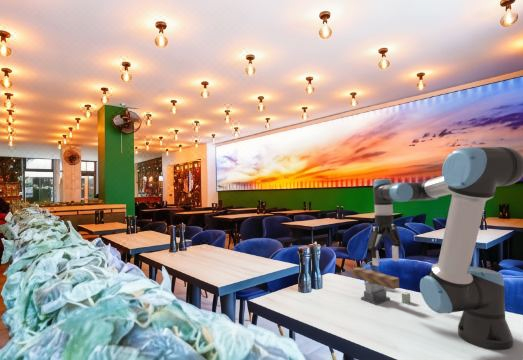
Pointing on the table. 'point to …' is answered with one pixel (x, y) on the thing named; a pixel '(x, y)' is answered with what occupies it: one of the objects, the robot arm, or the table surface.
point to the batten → (376, 278)
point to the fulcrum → (374, 294)
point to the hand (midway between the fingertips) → (385, 263)
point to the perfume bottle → (373, 268)
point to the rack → (403, 297)
